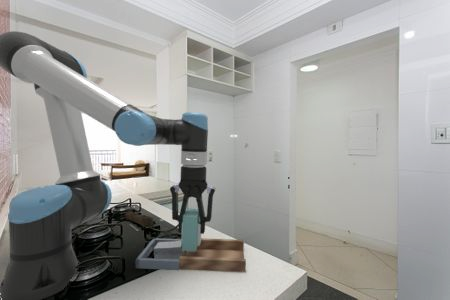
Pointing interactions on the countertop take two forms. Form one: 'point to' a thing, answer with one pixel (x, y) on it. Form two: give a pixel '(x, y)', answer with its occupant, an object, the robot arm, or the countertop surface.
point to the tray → (156, 263)
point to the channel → (215, 256)
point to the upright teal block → (190, 230)
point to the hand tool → (139, 219)
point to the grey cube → (161, 250)
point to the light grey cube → (175, 250)
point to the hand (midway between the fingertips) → (191, 242)
